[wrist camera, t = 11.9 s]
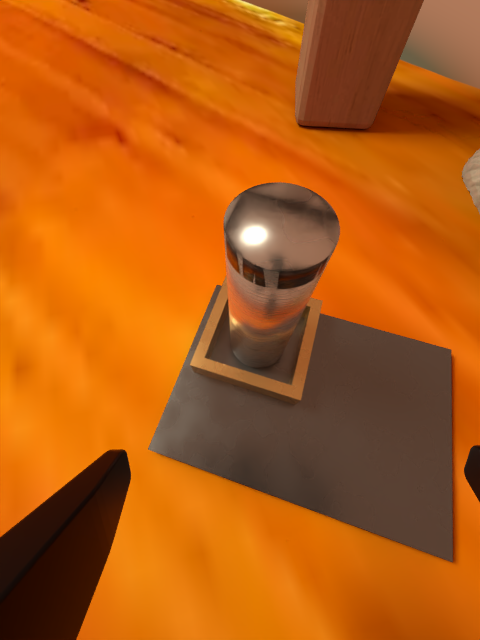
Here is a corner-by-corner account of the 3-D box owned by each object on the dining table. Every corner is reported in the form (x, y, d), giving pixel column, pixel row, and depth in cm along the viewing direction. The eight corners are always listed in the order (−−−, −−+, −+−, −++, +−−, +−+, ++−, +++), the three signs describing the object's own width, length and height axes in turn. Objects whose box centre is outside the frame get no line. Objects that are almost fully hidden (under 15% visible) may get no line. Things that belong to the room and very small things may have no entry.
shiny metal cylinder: (265, 379, 21) (302, 293, 9) (219, 347, 22) (200, 233, 10) (295, 335, 22) (359, 213, 11) (250, 307, 24) (265, 168, 12)
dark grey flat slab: (443, 557, 17) (479, 576, 15) (151, 449, 20) (138, 449, 17) (444, 353, 23) (470, 341, 20) (217, 289, 25) (215, 271, 23)
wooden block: (293, 128, 36) (350, -202, 18) (294, 86, 40) (340, -214, 22) (371, 133, 35) (511, -199, 17) (363, 90, 40) (469, -213, 21)
